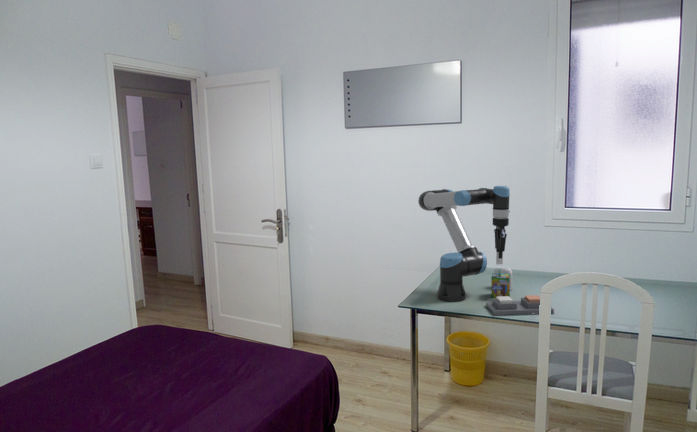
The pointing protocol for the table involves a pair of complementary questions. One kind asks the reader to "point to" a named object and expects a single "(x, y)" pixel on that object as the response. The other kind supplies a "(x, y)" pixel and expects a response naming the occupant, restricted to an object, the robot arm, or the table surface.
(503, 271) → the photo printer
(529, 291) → the table surface
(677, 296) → the table surface
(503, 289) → the chalk box
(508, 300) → the white key
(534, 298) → the terracotta key
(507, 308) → the key panel
